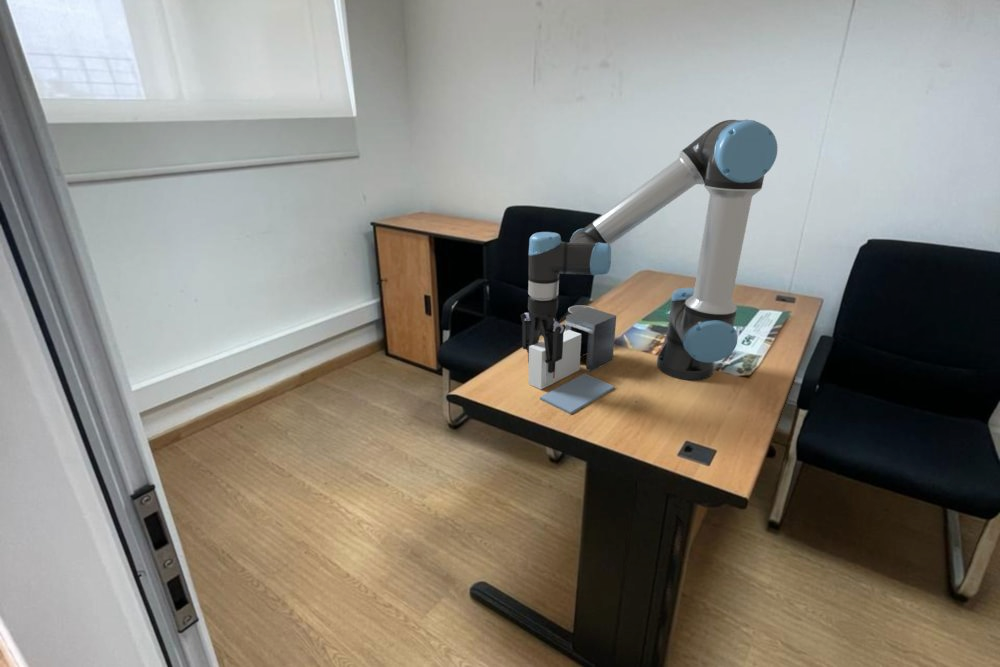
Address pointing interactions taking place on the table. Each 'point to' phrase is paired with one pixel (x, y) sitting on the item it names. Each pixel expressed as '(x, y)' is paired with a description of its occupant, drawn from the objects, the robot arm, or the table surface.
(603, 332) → the dispenser
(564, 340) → the white block
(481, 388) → the table surface
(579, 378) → the mat
